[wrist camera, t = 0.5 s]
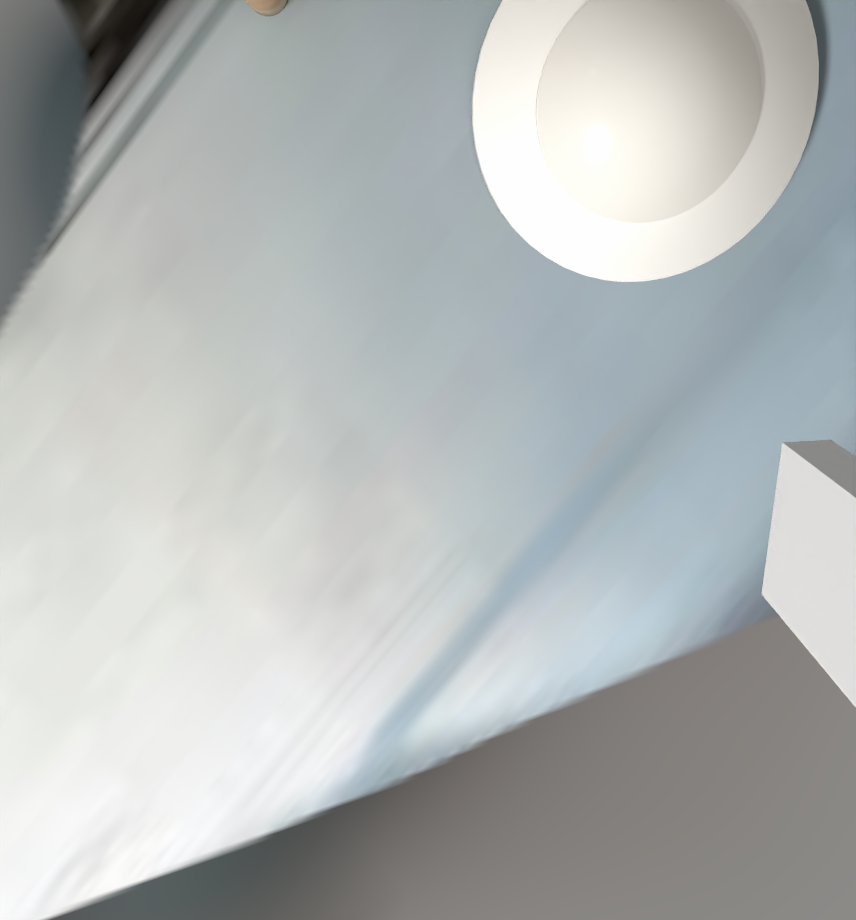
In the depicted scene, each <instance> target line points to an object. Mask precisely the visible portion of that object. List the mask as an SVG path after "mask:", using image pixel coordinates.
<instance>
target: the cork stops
mask: <svg viewBox="0 0 856 920" xmlns="http://www.w3.org/2000/svg"><path fill="white" fill-rule="evenodd" d="M245 1H246V2H247V3H248V4H249V5H250V6H251V7H252V8H253V9H254V10H255V11H256V12H257V13H259V14H261V15H264V16H274V15H276V14H278V13H280V12H281V11H282V10H283V8H284V7H285V5H286V3H287V0H245Z"/></svg>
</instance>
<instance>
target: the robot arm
mask: <svg viewBox="0 0 856 920" xmlns="http://www.w3.org/2000/svg"><path fill="white" fill-rule="evenodd" d="M762 595H763V596H764V598H765V599H766V600H767V601H768V602H769V604H770V605H771V606H772V607H773V608H774V610H775V611H776V612H777V613H778V614H779V616H780V617H781V618H782V619H783V620H784V622H785V623H786V624H787V625H788V626H789V628H790V629H791V630H792V631H793V632H794V634H795V635H796V636H797V637H798V638H799V640H800V641H801V642H802V643H803V645H804V646H805V647H806V648H807V649H808V650H809V652H810V653H811V654H812V655H813V656H814V658H815V659H816V660H817V661H818V663H819V664H820V665H821V666H822V667H823V669H824V670H825V671H826V672H827V673H828V675H829V676H830V677H831V678H832V679H833V681H834V682H835V683H836V684H837V685H838V686H839V688H840V689H841V690H842V691H843V693H844V694H845V695H846V696H847V697H848V698H849V700H850V701H851V702H852V703H853V705H854V706H855V707H856V456H854V455H853V454H851V453H850V452H848V451H847V450H845V449H844V448H842V447H841V446H839V445H838V444H836V443H835V442H833V441H832V440H818V441H801V442H783V443H782V450H781V457H780V464H779V472H778V479H777V486H776V493H775V501H774V508H773V515H772V522H771V530H770V537H769V544H768V551H767V559H766V566H765V573H764V581H763V588H762Z"/></svg>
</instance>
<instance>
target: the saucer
mask: <svg viewBox="0 0 856 920" xmlns="http://www.w3.org/2000/svg"><path fill="white" fill-rule="evenodd" d="M818 84H819V59H818V49H817V39H816V34H815V30H814V26H813V21H812V17H811V13H810V11H809V8H808V5H807V2H806V0H502V2H501V3H500V5H499V7H498V9H497V11H496V13H495V15H494V17H493V19H492V21H491V23H490V25H489V27H488V30H487V32H486V35H485V38H484V41H483V43H482V46H481V49H480V52H479V56H478V61H477V65H476V69H475V74H474V81H473V90H472V99H471V124H472V132H473V140H474V148H475V152H476V156H477V159H478V163H479V167H480V171H481V173H482V176H483V178H484V181H485V183H486V186H487V188H488V191H489V193H490V195H491V196H492V198H493V200H494V202H495V204H496V205H497V207H498V209H499V211H500V212H501V213H502V215H503V216H504V217H505V219H506V220H507V221H508V223H509V224H510V225H511V227H512V228H513V229H514V230H515V231H516V232H517V233H518V234H519V235H520V236H521V237H522V238H523V239H524V240H525V241H526V242H527V243H528V244H530V245H531V246H532V247H533V248H535V249H536V250H537V251H539V252H540V253H541V254H543V255H544V256H545V257H547V258H549V259H551V260H552V261H554V262H556V263H558V264H559V265H561V266H563V267H565V268H567V269H570V270H572V271H575V272H577V273H580V274H582V275H585V276H590V277H594V278H598V279H602V280H610V281H620V282H635V281H649V280H655V279H661V278H666V277H669V276H673V275H676V274H679V273H683V272H686V271H688V270H690V269H693V268H695V267H697V266H699V265H702V264H704V263H706V262H708V261H710V260H711V259H713V258H715V257H716V256H718V255H720V254H721V253H723V252H725V251H726V250H727V249H729V248H730V247H731V246H733V245H734V244H735V243H737V242H738V241H739V240H740V239H742V238H743V237H744V236H745V235H746V234H747V233H748V232H749V231H750V230H751V229H752V228H754V227H755V226H756V225H757V224H758V223H759V222H760V221H761V220H762V218H763V217H764V216H765V215H766V213H767V212H768V211H769V210H770V209H771V207H772V206H773V205H774V204H775V203H776V201H777V200H778V198H779V197H780V195H781V194H782V192H783V190H784V189H785V187H786V186H787V184H788V183H789V181H790V179H791V177H792V175H793V173H794V171H795V169H796V167H797V165H798V163H799V161H800V159H801V156H802V154H803V151H804V149H805V146H806V143H807V141H808V138H809V134H810V131H811V127H812V123H813V119H814V115H815V109H816V102H817V95H818Z"/></svg>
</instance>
